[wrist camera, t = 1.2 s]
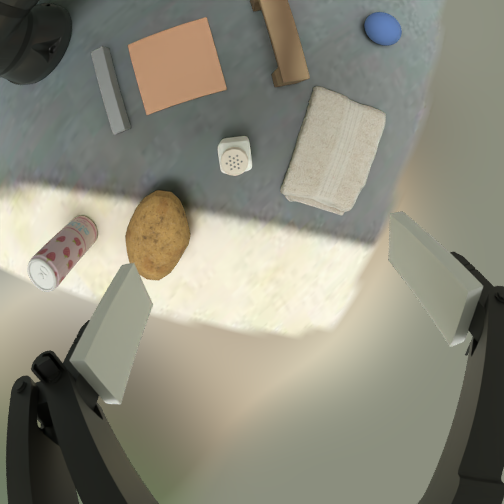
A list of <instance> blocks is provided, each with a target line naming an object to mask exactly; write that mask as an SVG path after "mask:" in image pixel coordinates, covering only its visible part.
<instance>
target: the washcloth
mask: <svg viewBox="0 0 504 504" xmlns="http://www.w3.org/2000/svg"><path fill="white" fill-rule="evenodd" d="M385 118H386V114H385V113H384V112H382V111H381V110H378V109H375V108H374V107H371V106H366V105H363V104H362V105H361V104H359V103H357V102H354V101H352V100H349V99H348V98H347V97H346V96H343V95H341V94H339V93H336V92H334V91H331V90H327V89H325V88H322V87H319V86H316V87H313V92H312V96H311V98H310V100H309V106H308V107H307V112H306V116H305V118H304V121H303V124H302V126H301V130H300V132H299V135H298V138H297V142H296V147H295V149H294V153H293V155H292V160H291V162H290V164H289V168H288V170H287V174H286V176H285V179H284V180H283V185H282V186H281V191H280V192H281V193H282V194H284V195H285V197H286V198H287V199H288V201H290V202H291V201H296V202H300V203H304V204H307V205H310V206H313V207H316V208H320V209H323V210H326V211H329V212H332V213H335V214H339V215H341V216H342V215H343V214H344V212H345V211H349V210H351V209H352V207H353V205H354V203H355V202H356V199H357V197H358V194H359V193H360V191H361V189H362V188H363V187H364V186H365V184H366V180H367V177H368V174H369V171H370V168H371V165H372V162H373V160H374V157H375V155H376V151H377V147H378V144H379V141H380V139H381V135H382V133H383V130H384V127H385Z"/></svg>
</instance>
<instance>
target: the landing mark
mask: <svg viewBox="0 0 504 504" xmlns="http://www.w3.org/2000/svg"><path fill="white" fill-rule="evenodd" d="M128 49H129V53H130V57H131V60H132V64H133V68H134V72H135V76H136V79H137V83H138V86H139V90H140V94H141V97H142V100H143V104H144V107H145V111H146V114H147V115H149V114H151V113H154V112H157V111H160V110H162V109H165V108H168V107H171V106H174V105H177V104H180V103H183V102H186V101H189V100H192V99H195V98H199V97H202V96H206V95H209V94H213V93H216V92H220V91H224V90H227V88H226V84H225V81H224V77H223V73H222V70H221V66H220V63H219V59H218V55H217V52H216V48H215V45H214V41H213V38H212V34H211V31H210V27H209V24H208V20H207V17H205V18H202V19H198V20H195V21H192V22H188V23H185V24H182V25H179V26H176V27H173V28H170V29H167V30H164V31H162V32H159V33H156V34H154V35H151V36H148V37H146V38H144V39H141V40H139V41H136V42H134V43H132V44H129V45H128Z"/></svg>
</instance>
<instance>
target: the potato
mask: <svg viewBox="0 0 504 504" xmlns="http://www.w3.org/2000/svg"><path fill="white" fill-rule="evenodd" d="M125 238H126V247H127V253H128V258H129V262H130V263H134V264H135V266H136V268H137V270H138V273H139V275H141V276H143V277H144V278H146V279H150V280H160V279H162V278H163V277H165V276H166V275H168V274H169V273H171V271H172V270H173V269H174V267H175V266H176V265H177V263H178V261H179V260H180V258H181V256H182V254H183V253H184V251H185V249H186V247H187V246H188V244H189V239H190V230H189V226H188V222H187V218H186V214H185V211H184V208H183V206H182V204H181V202H180V199H178V198H177V197H176V196H175V195H174V194H173V193H172V192H168V191H160V190H157V191H155V192H153V193H151V194H149V195H148V196H146V197H145V198H144V199H143V200H142V201H141V202H140V204H139V205H138V206H137V208H136V210H135V212H134V214H133V216H132V218H131V220H130V222H129V225H128V227H127V232H126V236H125Z"/></svg>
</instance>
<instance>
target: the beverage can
mask: <svg viewBox="0 0 504 504" xmlns="http://www.w3.org/2000/svg"><path fill="white" fill-rule="evenodd" d="M96 239H97V228H96V226H95V224H94V223H93V222H92V220H90V219H89V218H87V217H85V216H78V217H76V218H74V219H73V220H72V221H71V222H70V223H69V224H68V225H66V226H65V227H64V228H63V229H62V230H61V231H60V232H59V233H57V234H56V235H55V236H54V237H53V238H52V239H51V240H50V241H49V242H48V243H47V244H46V245H45V246H44V247H42V248H41V249H40V250H39V251H38V252H37V253H36V254H35V255H34V256H33V257H32V258H31V260H30V262H29V264H28V275H29V277H30V279H31V281H32V282H33V284H34V285H35V286H36V287H37V288H39V289H40V290H42V291H46V292H49V291H53V290H54V289H55V288H56V287H57V286H58V285H59V284H60V283H61V281H62V280H63V279H64V278H65V276H66V275H67V274H68V273H69V272H70V270H71V269H72V268H73V267H74V266H75V264H76V263H77V262H78V261H79V260H80V258H81V257H82V256H83V255H84V254H85V253H86V251H87V250H88V249H89V248H90V247H91V246H92V245H93V244H94V242H95V241H96Z"/></svg>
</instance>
